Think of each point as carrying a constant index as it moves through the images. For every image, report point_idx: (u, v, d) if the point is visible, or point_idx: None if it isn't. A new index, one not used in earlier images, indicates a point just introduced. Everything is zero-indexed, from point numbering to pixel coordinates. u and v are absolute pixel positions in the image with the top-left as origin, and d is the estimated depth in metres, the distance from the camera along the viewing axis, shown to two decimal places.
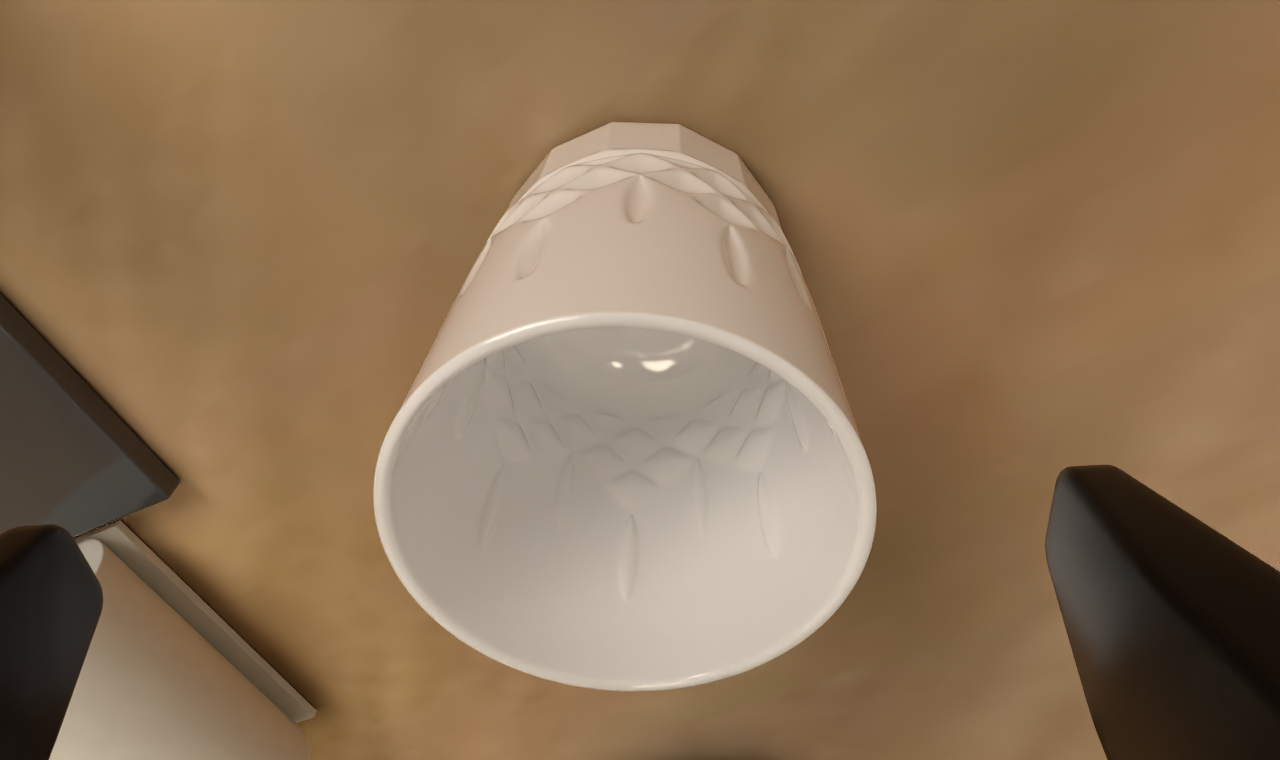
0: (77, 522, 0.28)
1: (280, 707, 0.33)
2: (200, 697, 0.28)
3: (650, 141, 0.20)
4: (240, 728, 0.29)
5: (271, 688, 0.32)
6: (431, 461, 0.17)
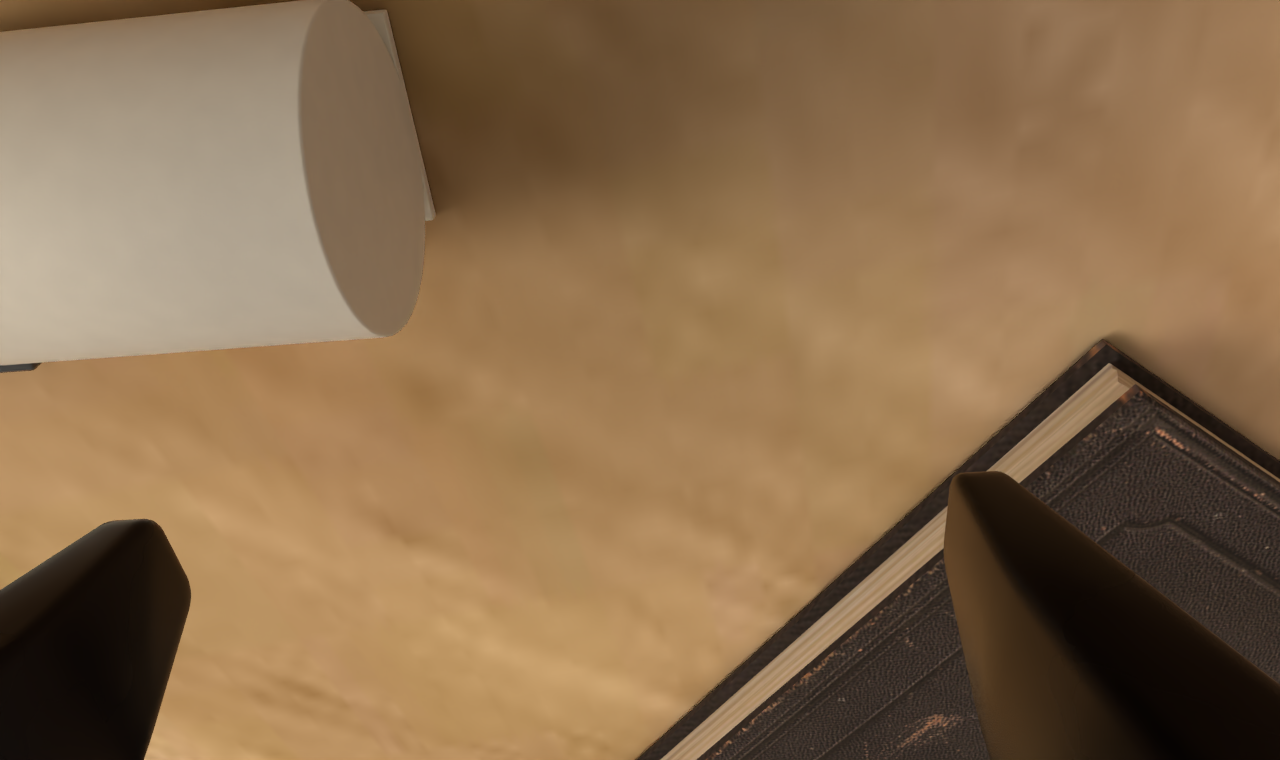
0: None
1: None
2: (28, 34, 0.16)
3: None
4: (132, 21, 0.16)
5: None
6: None
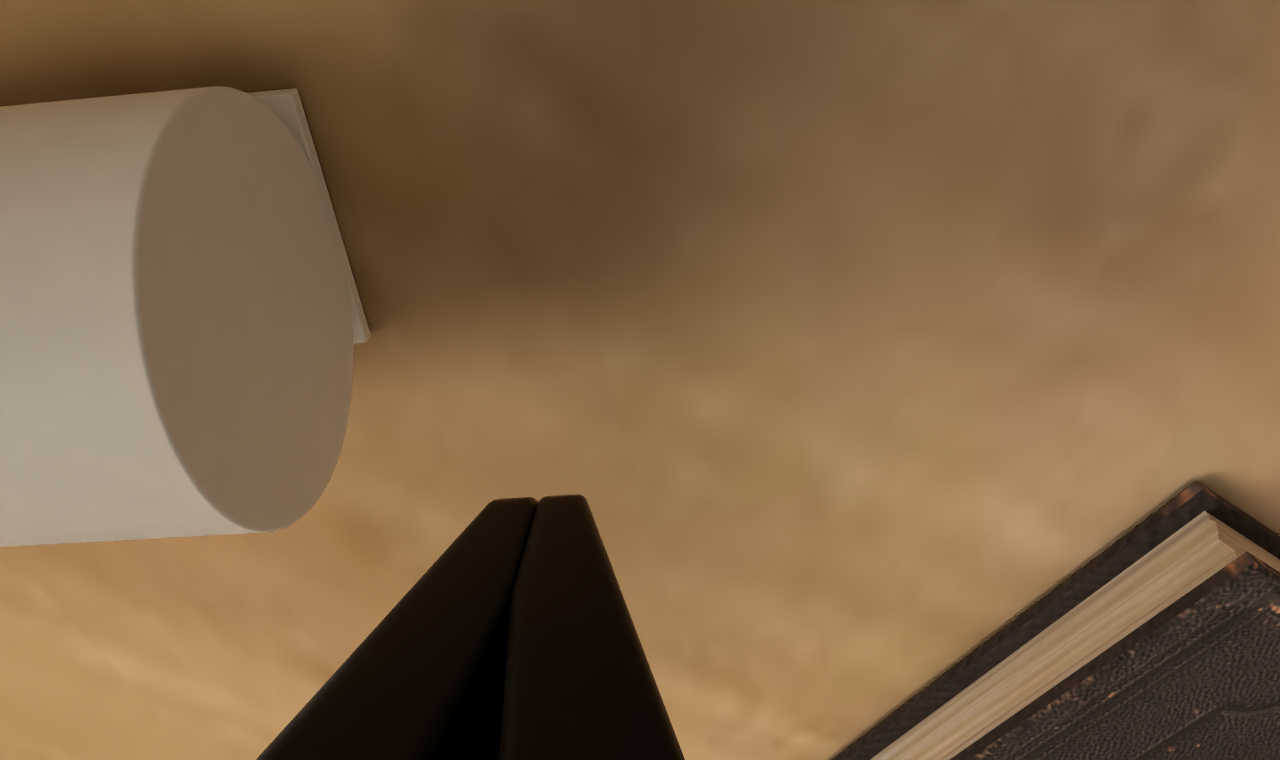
0: None
1: None
2: None
3: None
4: None
5: None
6: None
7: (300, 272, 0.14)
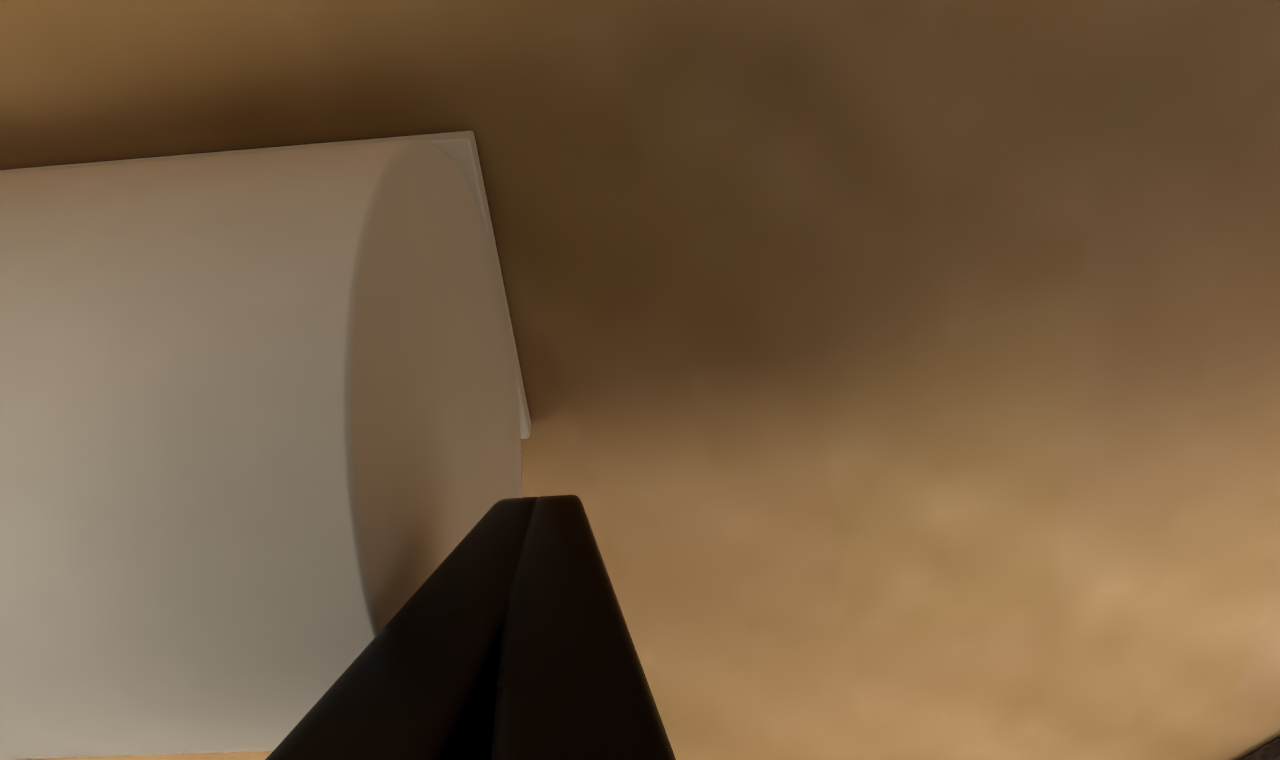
0: None
1: None
2: None
3: None
4: (19, 194, 0.08)
5: None
6: None
7: (482, 370, 0.11)
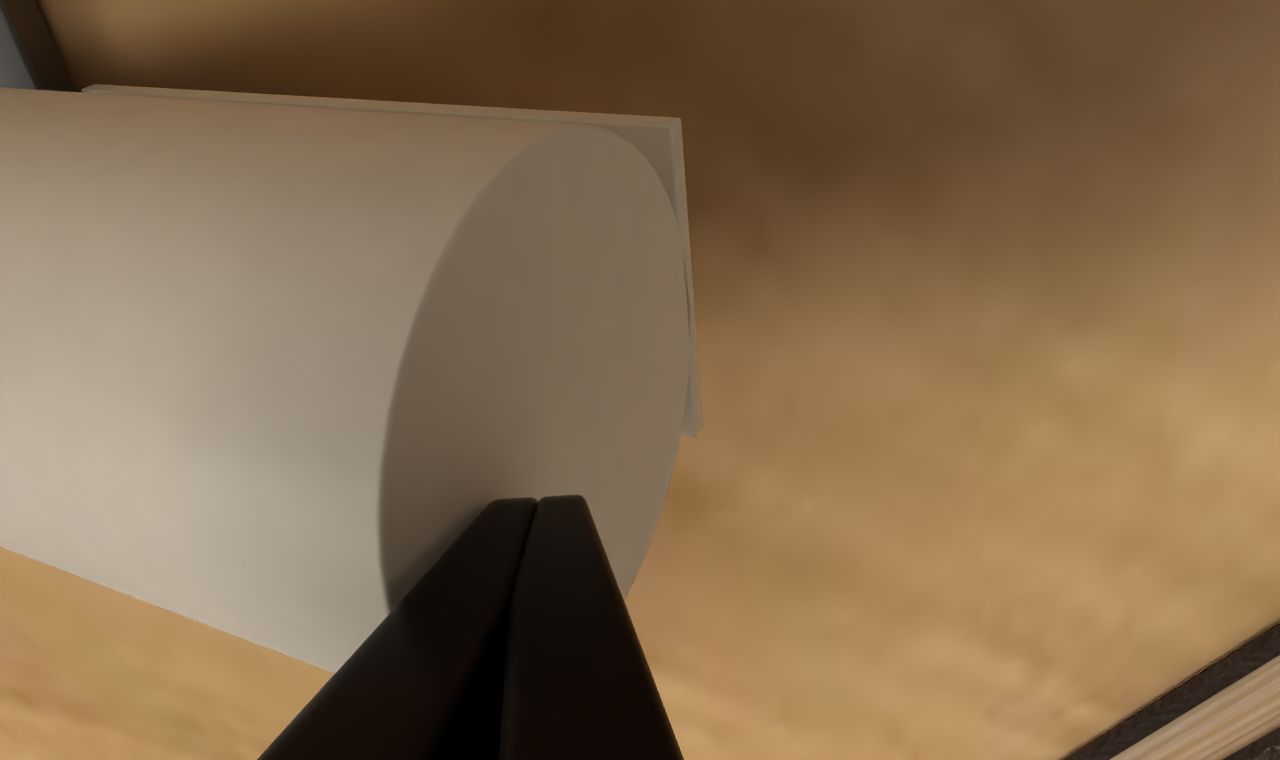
0: None
1: None
2: (106, 121, 0.10)
3: None
4: (237, 126, 0.09)
5: None
6: None
7: (630, 365, 0.11)
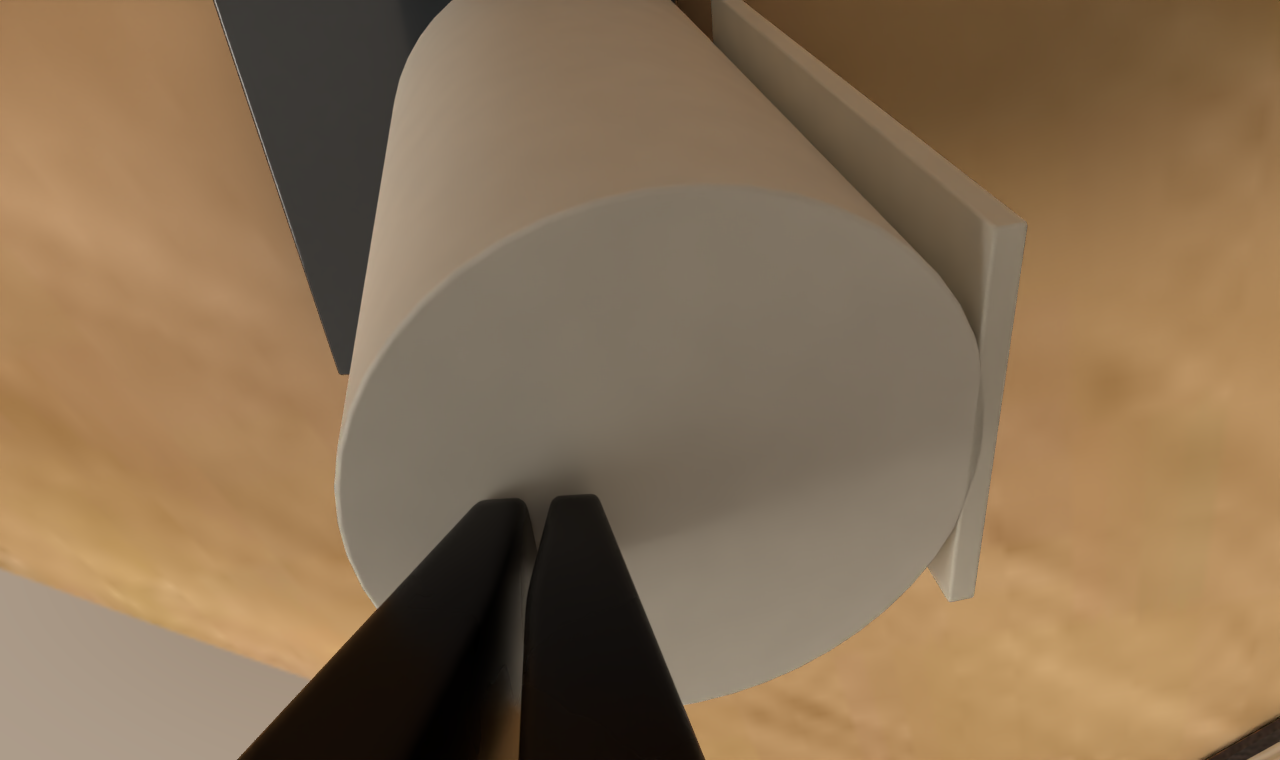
0: None
1: (936, 262, 0.09)
2: (553, 34, 0.11)
3: None
4: (580, 72, 0.10)
5: (897, 190, 0.09)
6: None
7: (808, 473, 0.09)
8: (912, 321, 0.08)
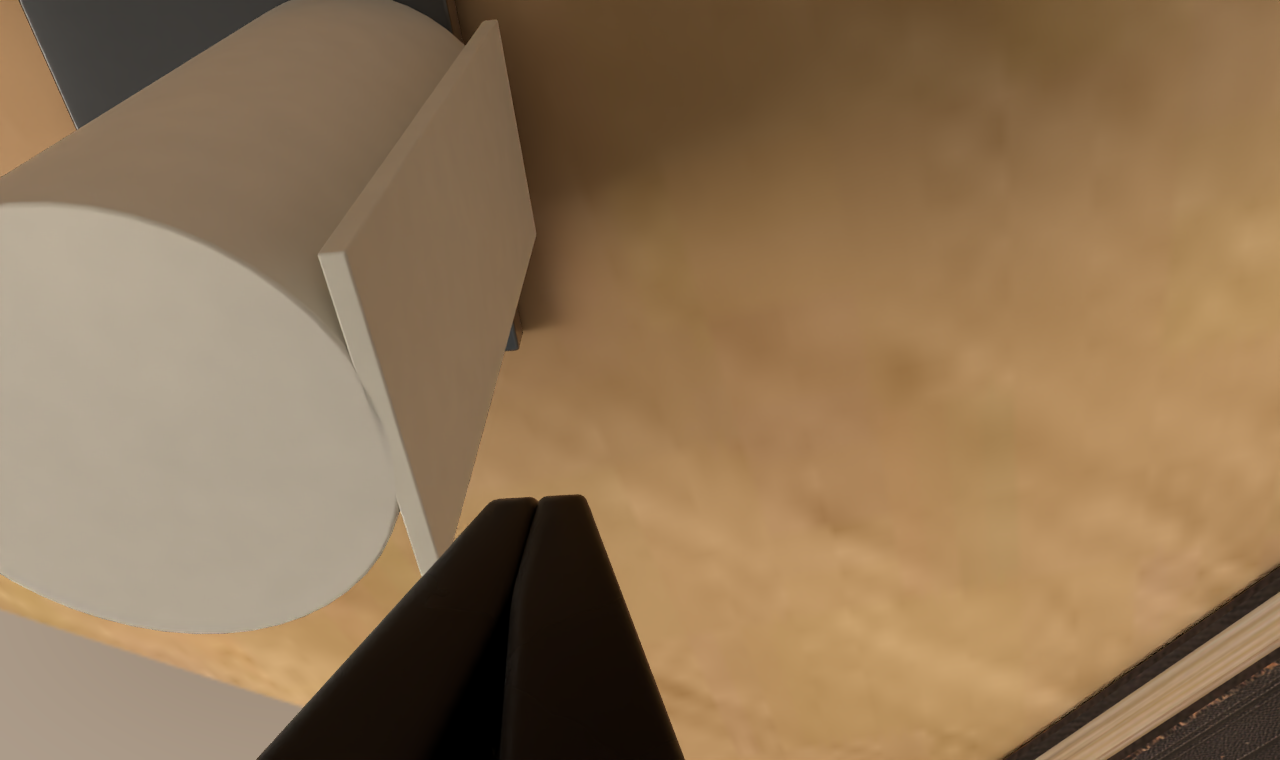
0: None
1: None
2: (205, 63, 0.13)
3: None
4: (156, 100, 0.12)
5: None
6: None
7: (238, 445, 0.10)
8: (276, 326, 0.10)
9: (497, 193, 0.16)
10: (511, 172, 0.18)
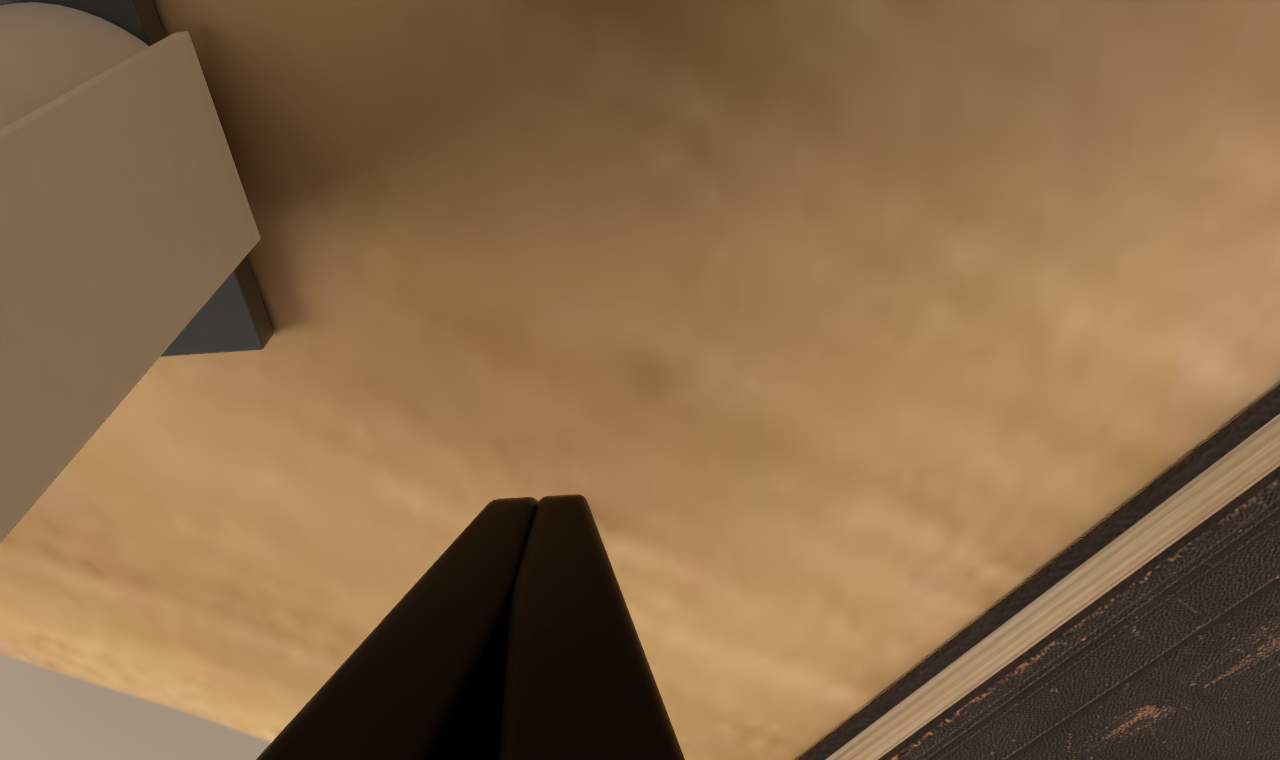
0: None
1: None
2: None
3: None
4: None
5: None
6: None
7: None
8: None
9: (163, 201, 0.17)
10: (202, 179, 0.18)
